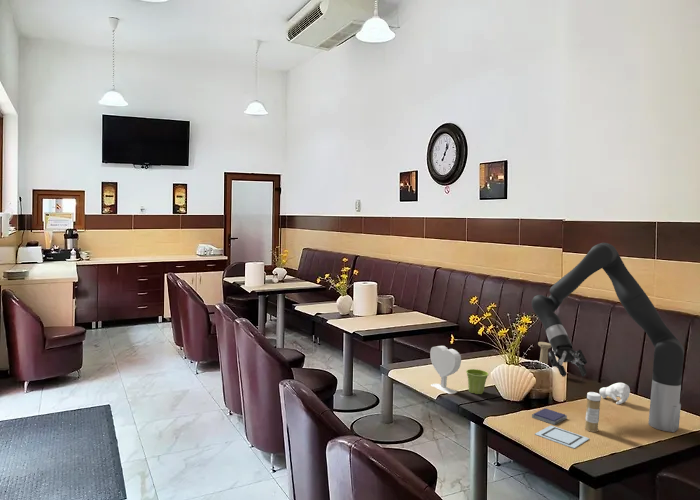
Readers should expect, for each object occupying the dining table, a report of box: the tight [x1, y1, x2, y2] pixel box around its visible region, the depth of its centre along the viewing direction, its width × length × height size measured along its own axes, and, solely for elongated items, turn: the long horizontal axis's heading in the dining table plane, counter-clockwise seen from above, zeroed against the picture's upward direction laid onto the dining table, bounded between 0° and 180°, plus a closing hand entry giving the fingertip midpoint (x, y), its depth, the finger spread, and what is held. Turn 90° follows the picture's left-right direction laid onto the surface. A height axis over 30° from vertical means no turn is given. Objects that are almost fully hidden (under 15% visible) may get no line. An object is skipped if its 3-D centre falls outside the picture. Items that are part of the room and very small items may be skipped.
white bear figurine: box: [599, 382, 631, 405], centre depth 224 cm, size 6×8×12 cm
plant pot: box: [465, 368, 489, 395], centre depth 228 cm, size 9×9×9 cm
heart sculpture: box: [429, 345, 462, 395], centre depth 230 cm, size 16×5×18 cm, turn 34°
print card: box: [534, 424, 590, 450], centre depth 185 cm, size 14×12×1 cm
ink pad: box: [531, 407, 568, 426], centre depth 202 cm, size 9×10×2 cm
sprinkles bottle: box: [584, 391, 602, 433], centre depth 192 cm, size 5×5×14 cm
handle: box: [537, 341, 552, 365], centre depth 258 cm, size 5×6×15 cm
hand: (574, 375), depth 203 cm, fingers open, 8 cm apart
